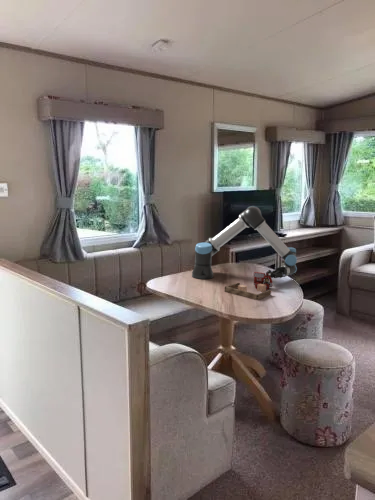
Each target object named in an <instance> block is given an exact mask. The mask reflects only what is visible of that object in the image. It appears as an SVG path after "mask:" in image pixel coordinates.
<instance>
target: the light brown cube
mask: <svg viewBox="0 0 375 500" xmlns="http://www.w3.org/2000/svg"><path fill="white" fill-rule="evenodd" d="M237 289H238V290H242V291H246V292H248V285H244V284H240V285H239V286H238V288H237Z"/></svg>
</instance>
